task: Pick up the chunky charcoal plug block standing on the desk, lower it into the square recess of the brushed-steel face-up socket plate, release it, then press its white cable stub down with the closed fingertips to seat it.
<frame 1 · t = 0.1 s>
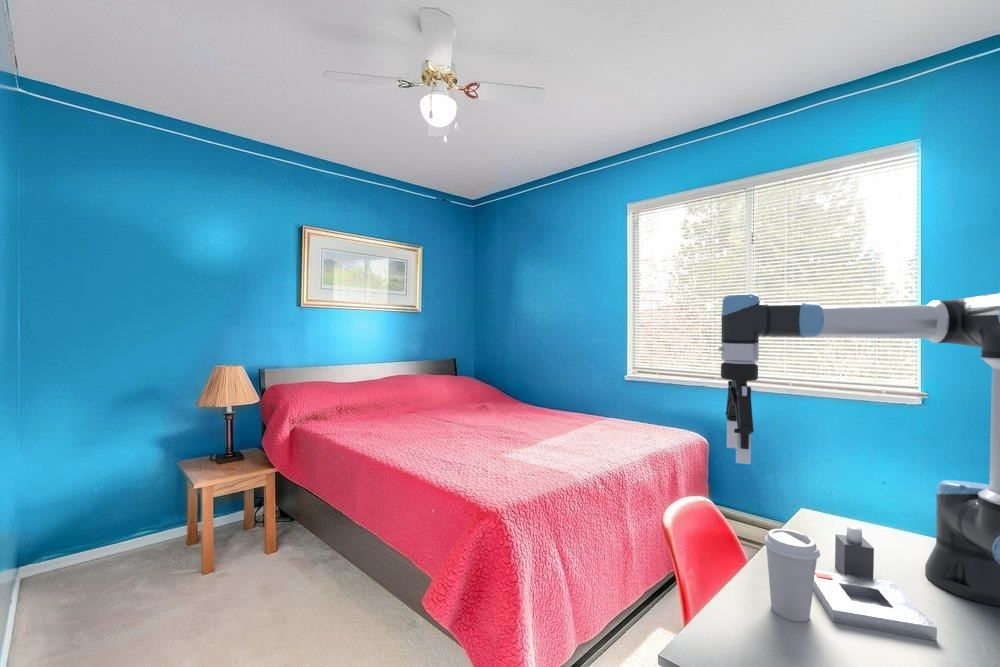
hand: (737, 455, 104), 28 cm above the table, fingers open, 13 cm apart
plug: (853, 575, 105), on the table
coffee cup: (790, 612, 91), on the table
socket plate: (864, 607, 93), on the table
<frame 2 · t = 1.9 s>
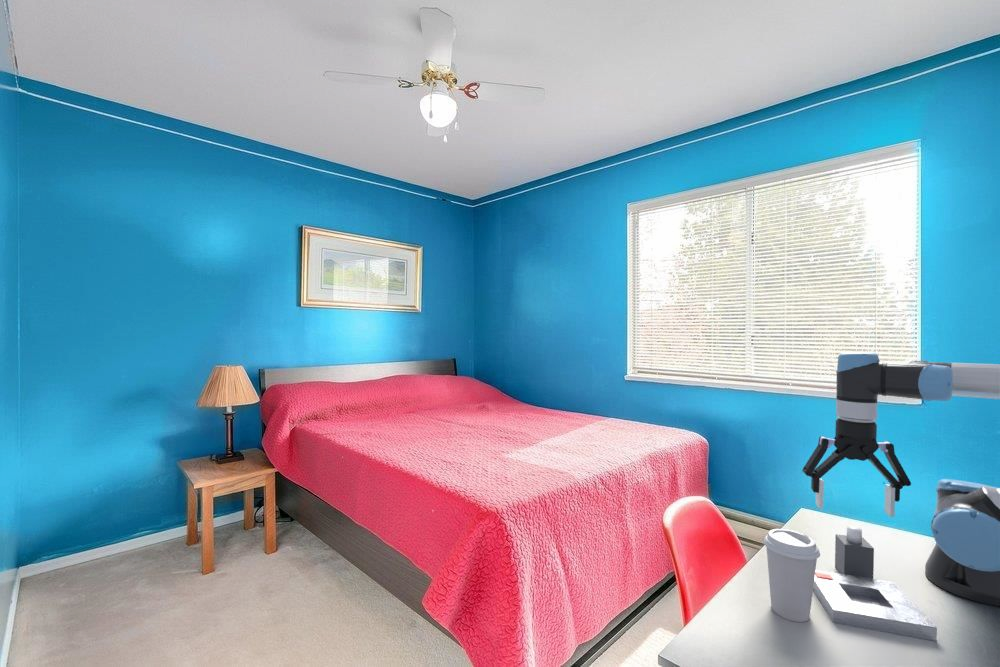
hand: (853, 510, 105), 15 cm above the table, fingers open, 13 cm apart
nothing on the table moved.
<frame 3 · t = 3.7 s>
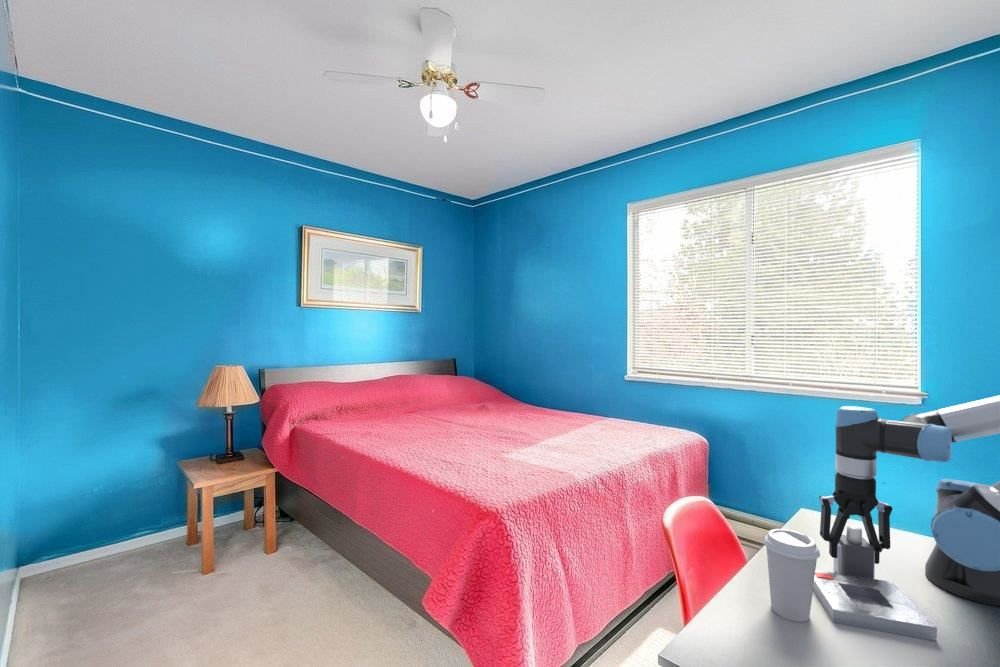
hand: (853, 573, 105), 0 cm above the table, fingers closed on plug, 5 cm apart
plug: (853, 575, 105), on the table, touching gripper
everything else where it was.
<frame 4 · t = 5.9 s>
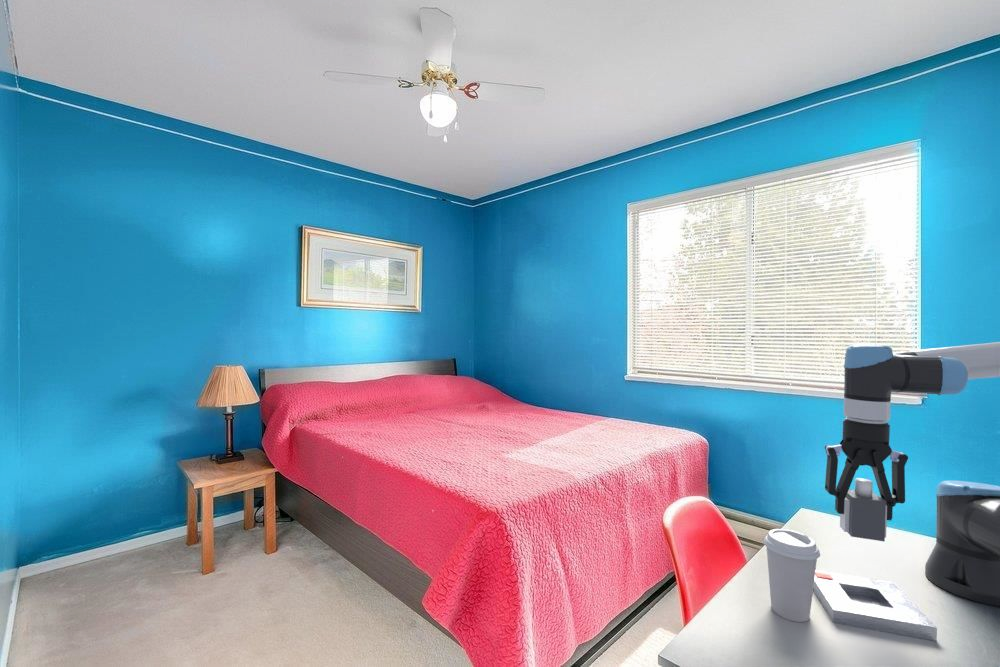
hand: (862, 531, 94), 15 cm above the table, fingers closed on plug, 5 cm apart
plug: (862, 533, 94), point 15 cm above the table, touching gripper
everything else where it was.
when the fingers open (3 cm above the table, at t = 8.4 s): plug drops 2 cm, resting on socket plate.
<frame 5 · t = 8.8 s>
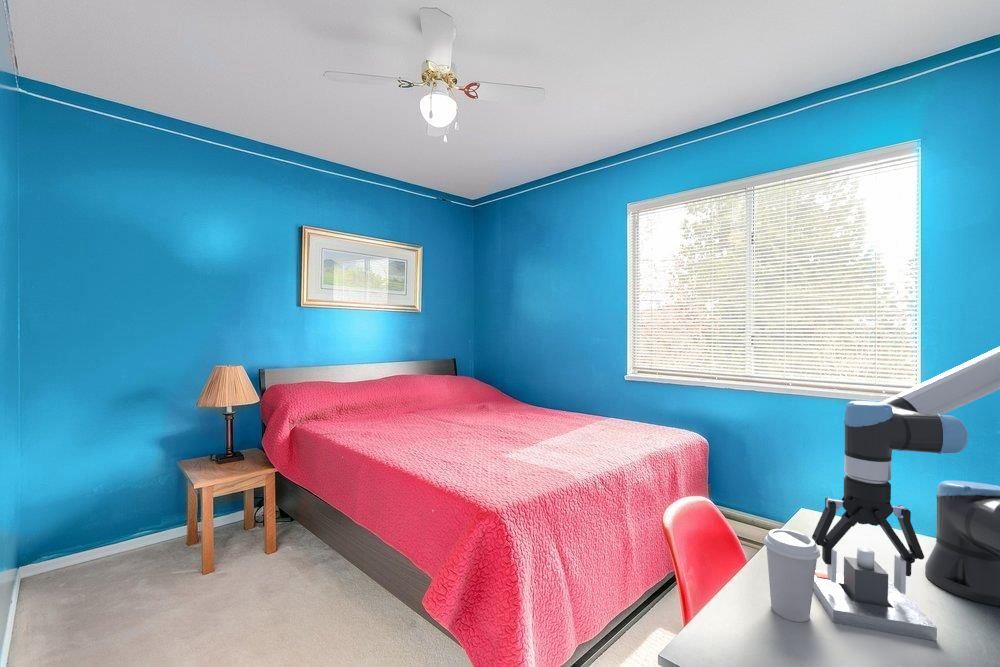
hand: (864, 584, 93), 5 cm above the table, fingers open, 11 cm apart
plug: (864, 604, 93), point 1 cm above the table, touching socket plate
everything else where it was.
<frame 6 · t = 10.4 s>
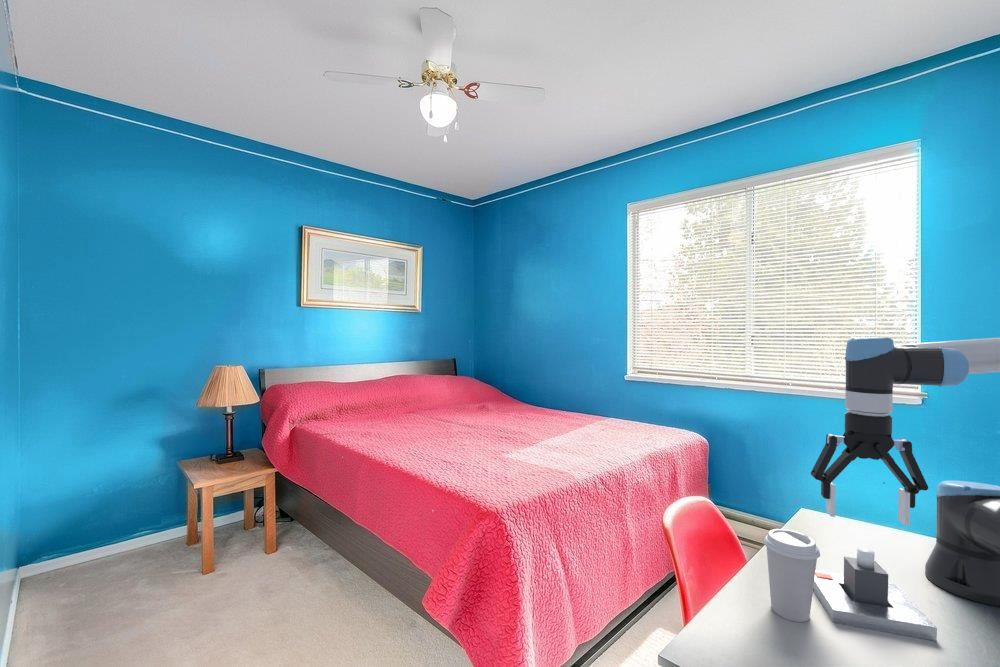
hand: (866, 518, 93), 18 cm above the table, fingers open, 12 cm apart
nothing on the table moved.
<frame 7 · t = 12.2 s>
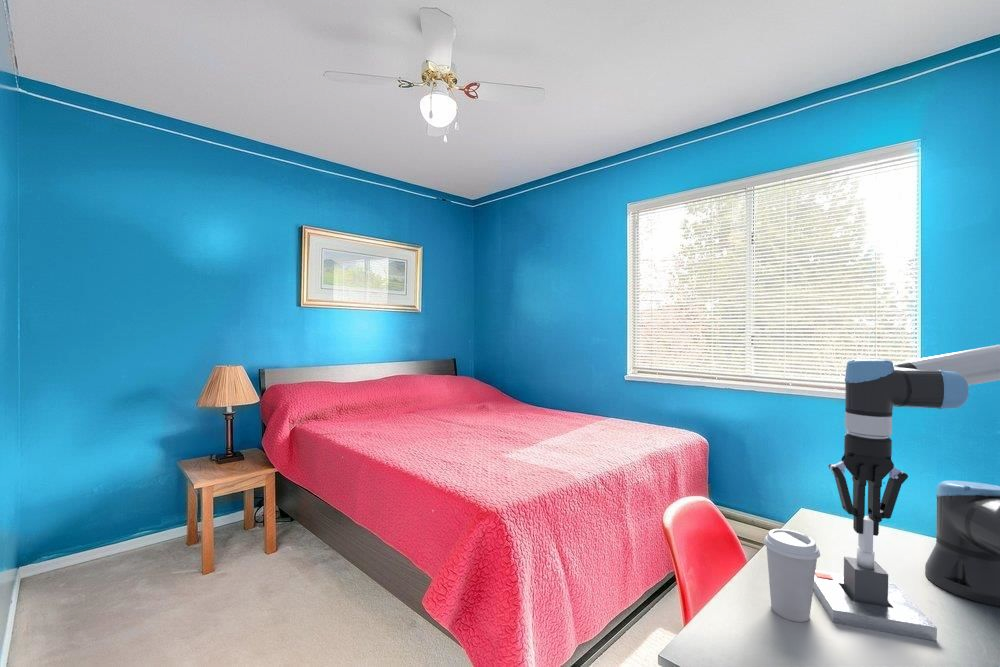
hand: (865, 549, 93), 12 cm above the table, fingers closed
plug: (864, 604, 93), point 1 cm above the table, touching gripper, socket plate
everything else where it was.
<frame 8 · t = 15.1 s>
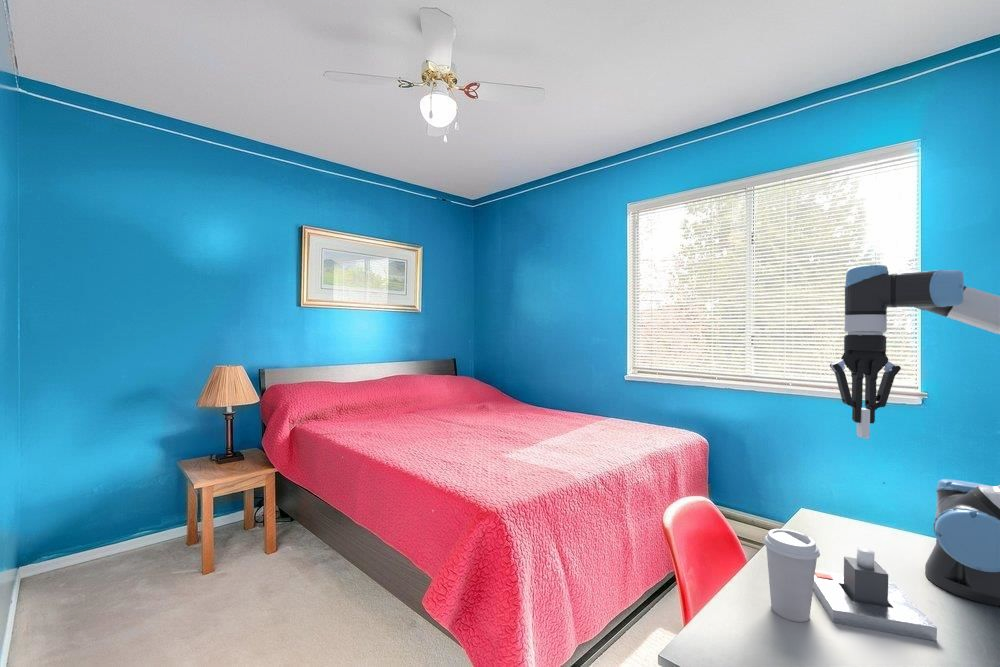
hand: (863, 437, 104), 32 cm above the table, fingers closed
plug: (864, 604, 93), point 1 cm above the table, touching socket plate
everything else where it was.
at the end: plug 0.1 cm off-centre on the socket plate, point 0.6 cm above the socket plate's base; plug tilted 0°; the gripper is holding nothing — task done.
